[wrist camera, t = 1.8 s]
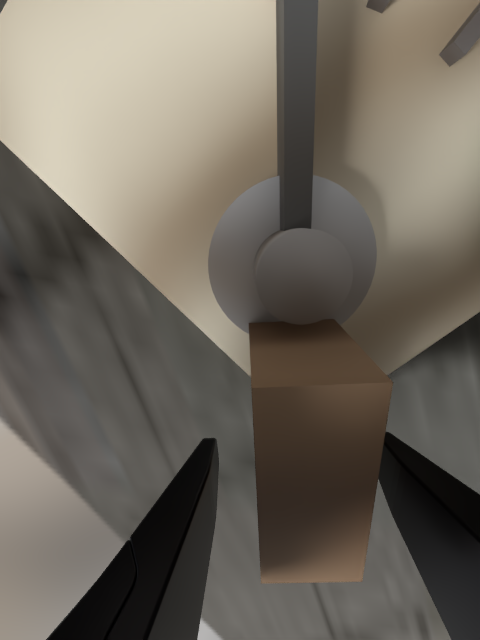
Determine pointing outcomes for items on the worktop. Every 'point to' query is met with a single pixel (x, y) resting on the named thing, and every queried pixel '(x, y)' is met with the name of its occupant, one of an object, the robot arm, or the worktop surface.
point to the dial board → (258, 141)
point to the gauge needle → (304, 337)
